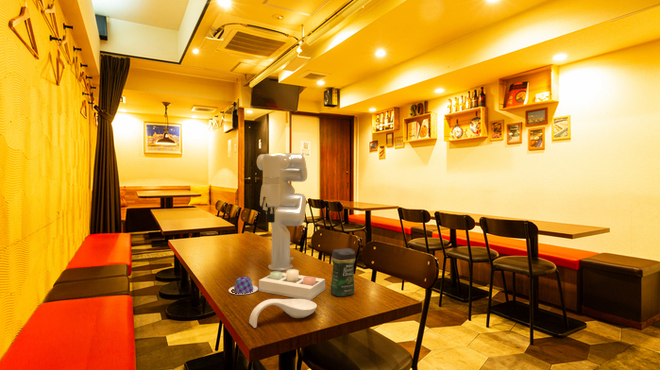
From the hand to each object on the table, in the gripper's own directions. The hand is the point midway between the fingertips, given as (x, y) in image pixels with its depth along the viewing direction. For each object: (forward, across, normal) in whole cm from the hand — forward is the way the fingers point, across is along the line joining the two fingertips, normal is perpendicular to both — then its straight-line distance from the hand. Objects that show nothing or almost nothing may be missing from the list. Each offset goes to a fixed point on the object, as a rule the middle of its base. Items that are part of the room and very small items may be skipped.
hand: (270, 222), depth 152 cm
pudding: (+28, +14, -4) cm, 31 cm away
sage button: (+26, +5, +7) cm, 27 cm away
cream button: (+24, +5, +14) cm, 28 cm away
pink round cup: (+26, +5, +22) cm, 35 cm away
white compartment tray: (+27, +5, +14) cm, 31 cm away
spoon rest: (+28, +30, +26) cm, 48 cm away
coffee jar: (+27, -1, +35) cm, 44 cm away
